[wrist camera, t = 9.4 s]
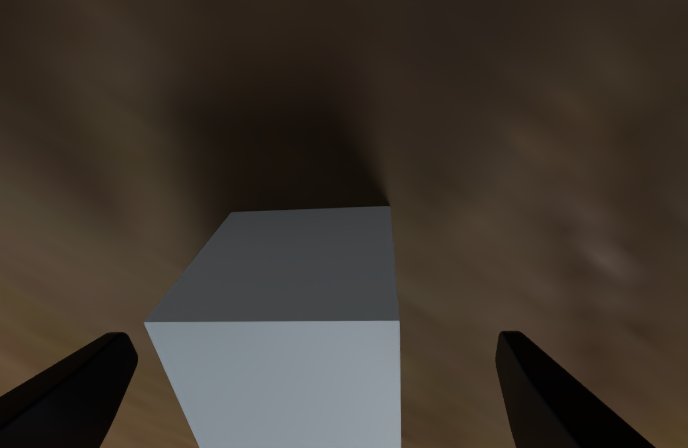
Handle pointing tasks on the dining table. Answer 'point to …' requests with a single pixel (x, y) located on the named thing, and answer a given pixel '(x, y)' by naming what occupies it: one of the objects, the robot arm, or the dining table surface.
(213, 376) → the grey blue cube
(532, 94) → the dining table surface
